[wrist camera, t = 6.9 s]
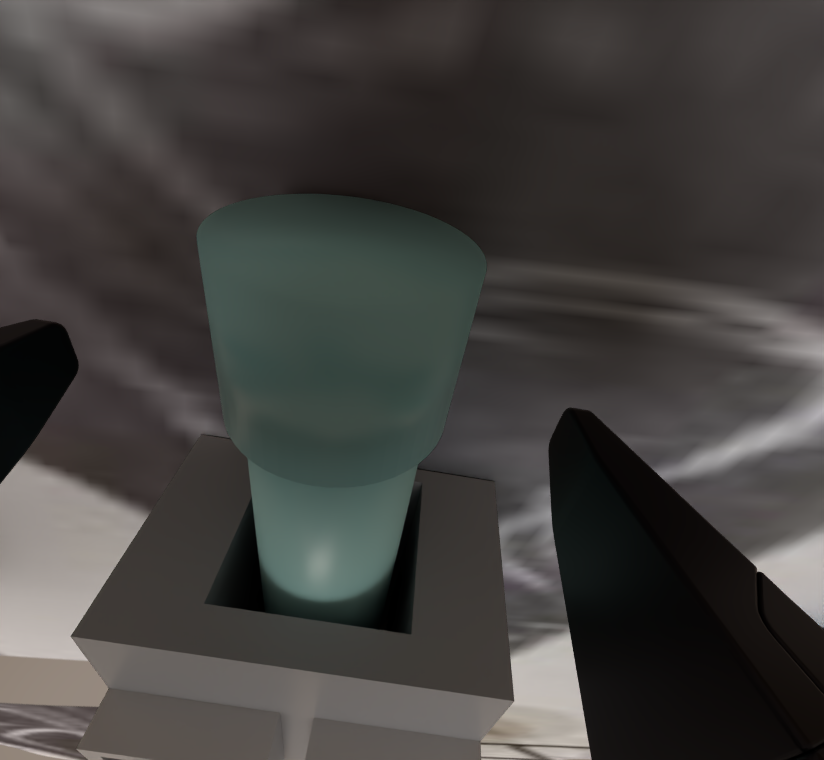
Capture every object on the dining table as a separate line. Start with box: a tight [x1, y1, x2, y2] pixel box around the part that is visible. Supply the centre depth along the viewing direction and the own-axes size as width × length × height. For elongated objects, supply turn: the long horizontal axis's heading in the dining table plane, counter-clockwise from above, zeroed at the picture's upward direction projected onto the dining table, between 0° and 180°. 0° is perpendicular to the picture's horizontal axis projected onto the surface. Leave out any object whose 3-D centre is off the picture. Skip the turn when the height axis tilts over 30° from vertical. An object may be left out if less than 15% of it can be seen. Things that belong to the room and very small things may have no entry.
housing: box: [71, 435, 514, 760], centre depth 17 cm, size 11×12×8 cm
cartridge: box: [196, 194, 487, 630], centre depth 14 cm, size 20×5×5 cm, turn 171°
